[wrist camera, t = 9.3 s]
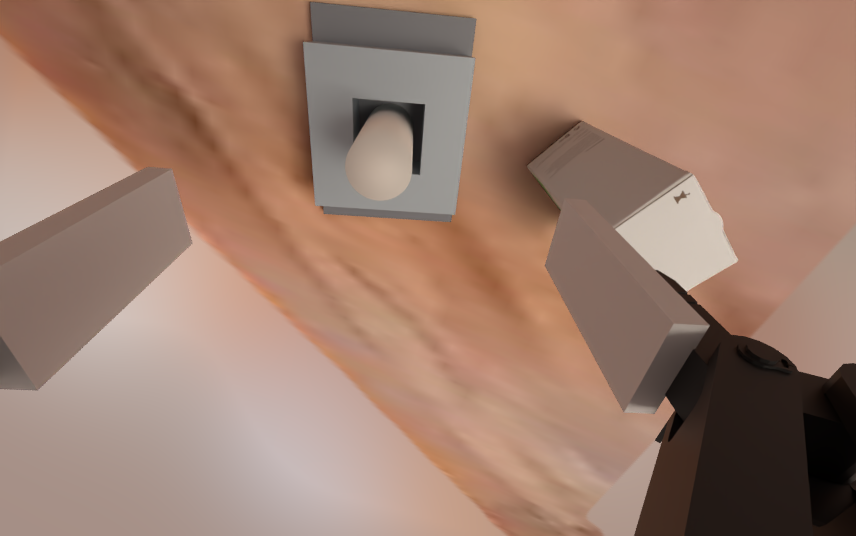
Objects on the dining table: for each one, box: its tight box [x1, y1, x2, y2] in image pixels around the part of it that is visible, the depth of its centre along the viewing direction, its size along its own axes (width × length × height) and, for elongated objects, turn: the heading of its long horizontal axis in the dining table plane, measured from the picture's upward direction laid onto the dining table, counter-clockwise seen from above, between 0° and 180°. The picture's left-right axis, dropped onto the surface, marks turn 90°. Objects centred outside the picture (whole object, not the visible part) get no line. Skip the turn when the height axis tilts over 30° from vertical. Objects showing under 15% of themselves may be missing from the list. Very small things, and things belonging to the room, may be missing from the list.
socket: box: [303, 2, 476, 222], centre depth 32 cm, size 17×12×5 cm
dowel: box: [345, 103, 413, 201], centre depth 28 cm, size 4×4×12 cm
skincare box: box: [527, 121, 738, 291], centre depth 30 cm, size 8×7×16 cm
